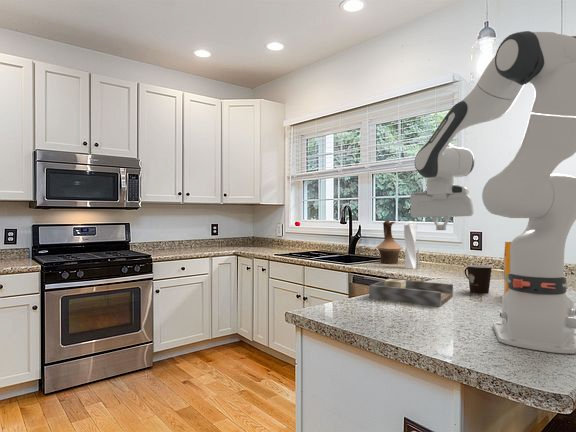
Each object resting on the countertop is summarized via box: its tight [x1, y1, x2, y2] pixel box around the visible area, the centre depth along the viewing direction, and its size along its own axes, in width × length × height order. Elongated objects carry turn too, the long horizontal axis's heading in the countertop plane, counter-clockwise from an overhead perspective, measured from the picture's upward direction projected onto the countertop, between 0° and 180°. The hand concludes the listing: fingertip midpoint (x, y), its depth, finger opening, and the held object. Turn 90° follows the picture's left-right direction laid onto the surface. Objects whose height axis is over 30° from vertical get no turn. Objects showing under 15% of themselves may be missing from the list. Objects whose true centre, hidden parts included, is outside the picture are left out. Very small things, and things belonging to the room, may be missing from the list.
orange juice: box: [503, 241, 512, 294], centre depth 137 cm, size 8×9×20 cm
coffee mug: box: [464, 264, 493, 295], centre depth 149 cm, size 12×9×10 cm
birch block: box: [384, 278, 407, 288], centre depth 140 cm, size 6×6×4 cm
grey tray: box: [368, 278, 454, 308], centre depth 137 cm, size 24×20×4 cm
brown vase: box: [375, 219, 403, 265], centre depth 250 cm, size 18×17×28 cm
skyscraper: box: [403, 220, 421, 270], centre depth 222 cm, size 8×8×28 cm
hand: (441, 230), depth 132 cm, fingers closed
